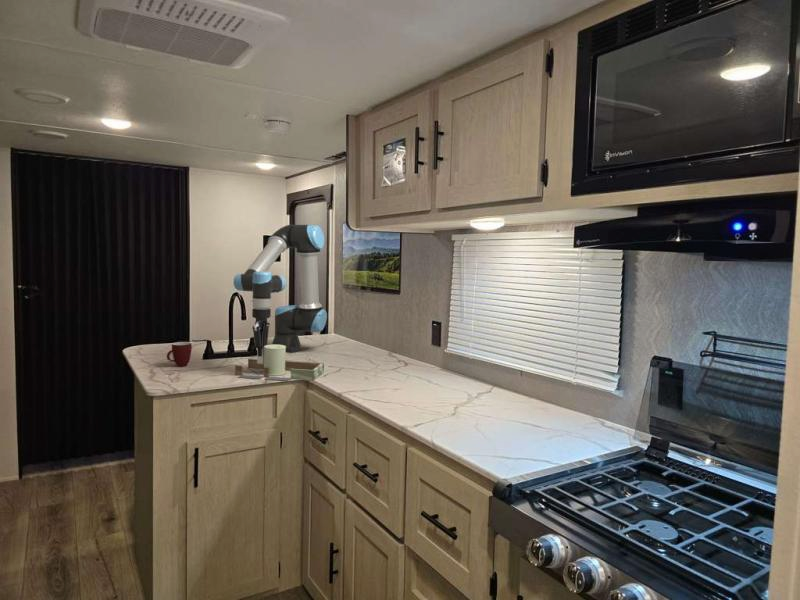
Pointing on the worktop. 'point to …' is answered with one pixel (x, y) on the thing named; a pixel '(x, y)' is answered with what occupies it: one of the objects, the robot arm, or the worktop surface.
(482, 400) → the worktop surface
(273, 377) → the mats
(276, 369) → the can
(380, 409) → the worktop surface
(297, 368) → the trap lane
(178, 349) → the mug
